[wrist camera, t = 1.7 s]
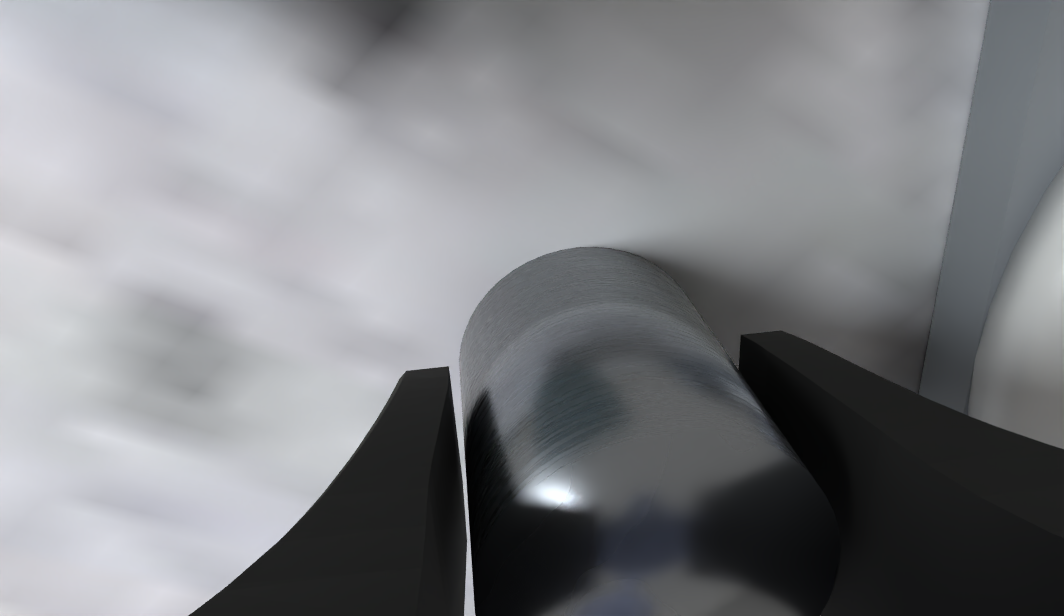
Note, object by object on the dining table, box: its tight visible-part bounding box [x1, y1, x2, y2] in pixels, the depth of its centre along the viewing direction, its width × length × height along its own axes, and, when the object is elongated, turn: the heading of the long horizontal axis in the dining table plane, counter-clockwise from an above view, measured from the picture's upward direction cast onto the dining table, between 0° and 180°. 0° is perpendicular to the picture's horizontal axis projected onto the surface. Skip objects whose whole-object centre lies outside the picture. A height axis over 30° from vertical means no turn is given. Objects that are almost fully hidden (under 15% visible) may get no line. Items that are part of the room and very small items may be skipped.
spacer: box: [459, 247, 841, 616], centre depth 11 cm, size 4×4×5 cm
